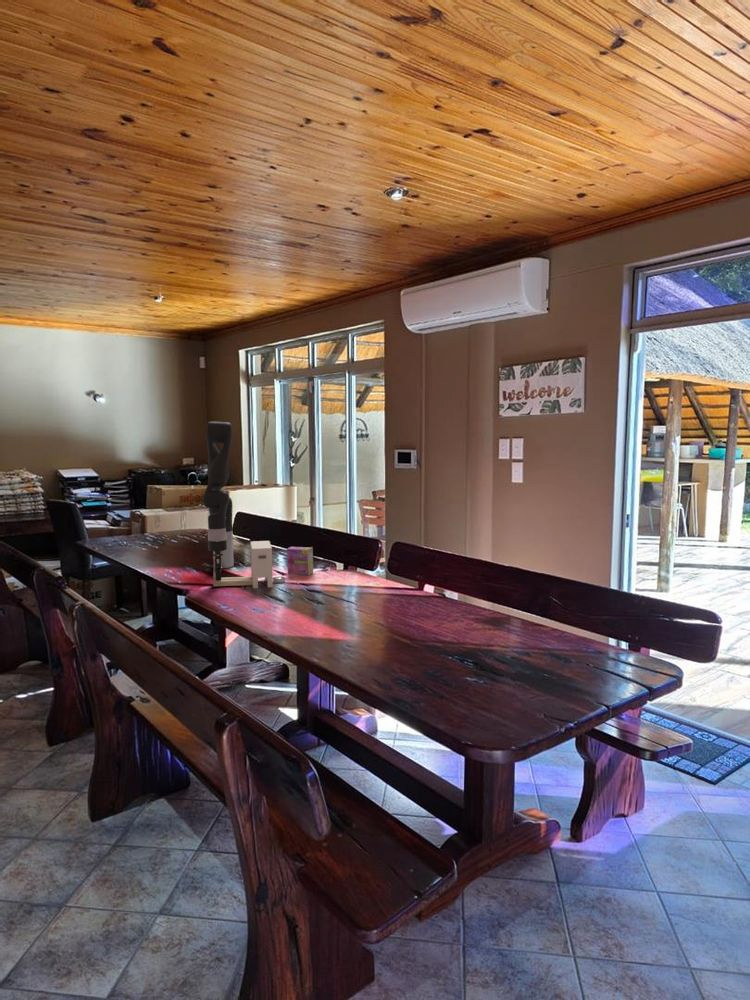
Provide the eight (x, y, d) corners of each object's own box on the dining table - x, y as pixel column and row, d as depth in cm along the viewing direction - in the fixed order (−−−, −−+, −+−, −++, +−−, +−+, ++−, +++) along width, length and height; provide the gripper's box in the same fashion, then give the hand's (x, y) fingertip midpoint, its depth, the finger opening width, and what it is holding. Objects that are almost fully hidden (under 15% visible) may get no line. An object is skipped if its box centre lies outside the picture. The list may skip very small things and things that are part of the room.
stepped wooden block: (213, 582, 271) (213, 563, 270) (254, 581, 275) (254, 562, 274) (213, 586, 264) (213, 567, 264) (255, 584, 268) (255, 566, 268)
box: (287, 574, 289) (286, 548, 287) (292, 571, 294) (292, 546, 293) (308, 575, 286) (308, 549, 284) (313, 572, 291) (313, 547, 290)
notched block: (251, 578, 280) (250, 541, 278) (269, 577, 282) (269, 540, 280) (253, 588, 262) (252, 549, 260) (272, 587, 264) (271, 548, 262)
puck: (272, 581, 276) (272, 576, 276) (284, 580, 277) (284, 576, 277) (273, 584, 271) (273, 579, 271) (285, 583, 272) (285, 578, 272)
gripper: (208, 536, 272) (209, 576, 274) (207, 542, 259) (209, 583, 260) (226, 535, 274) (227, 575, 276) (226, 541, 260) (228, 582, 262)
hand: (218, 579), depth 268 cm, fingers closed on stepped wooden block, 3 cm apart
